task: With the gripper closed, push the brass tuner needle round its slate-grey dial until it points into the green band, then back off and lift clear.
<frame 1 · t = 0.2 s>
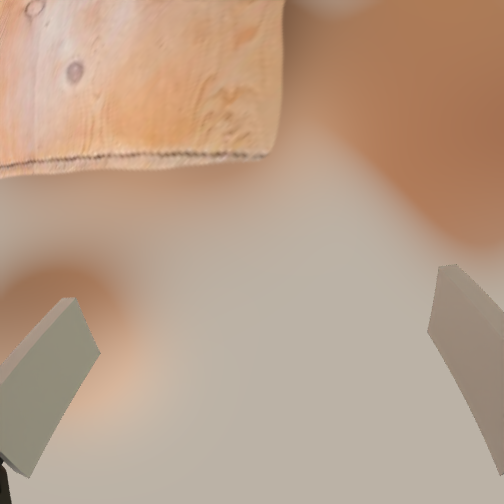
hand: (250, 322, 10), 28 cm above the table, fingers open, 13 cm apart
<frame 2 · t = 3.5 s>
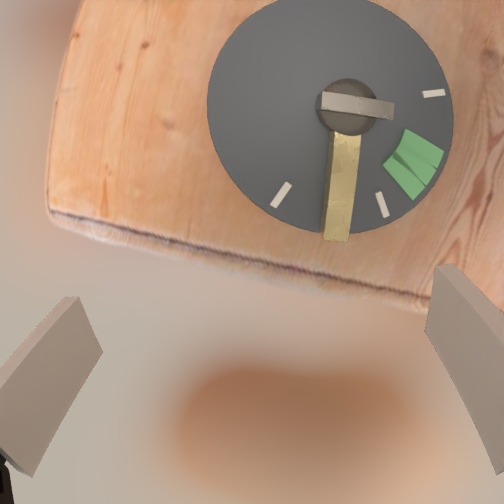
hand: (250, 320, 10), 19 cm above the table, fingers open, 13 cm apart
dial: (338, 109, 24), on the table
needle: (345, 161, 22), point 4 cm above the table, hinge at 0.0°
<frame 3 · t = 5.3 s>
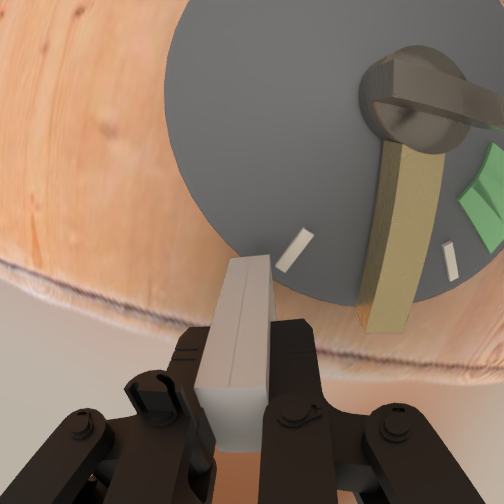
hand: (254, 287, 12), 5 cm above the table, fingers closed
dial: (391, 102, 13), on the table
needle: (416, 200, 11), point 4 cm above the table, hinge at 0.0°
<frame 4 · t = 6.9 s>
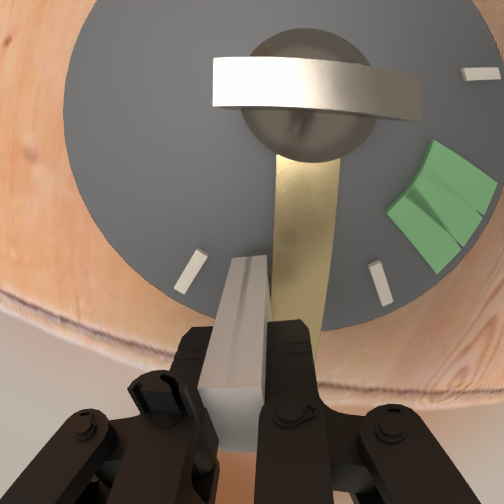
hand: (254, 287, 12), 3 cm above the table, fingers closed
dial: (300, 102, 12), on the table
needle: (304, 220, 10), point 4 cm above the table, hinge at 1.8°, touching gripper
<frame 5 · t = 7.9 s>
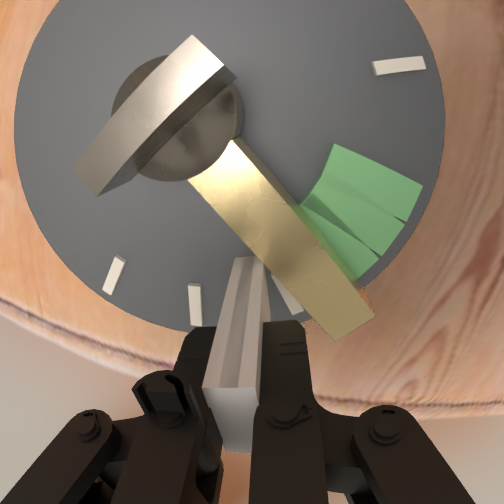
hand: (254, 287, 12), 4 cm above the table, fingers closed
dial: (200, 117, 13), on the table
needle: (252, 207, 11), point 4 cm above the table, hinge at 43.5°, touching gripper
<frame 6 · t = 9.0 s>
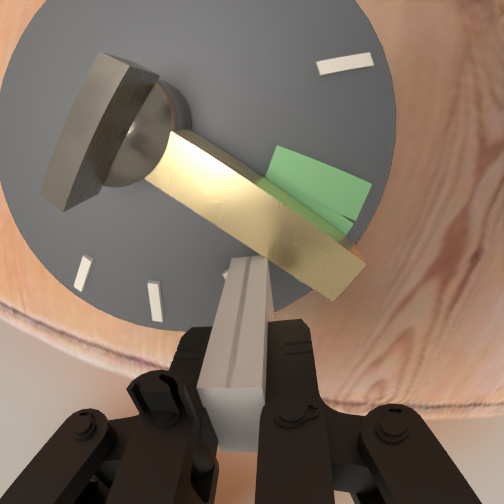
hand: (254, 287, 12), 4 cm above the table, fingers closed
dial: (156, 124, 14), on the table
needle: (208, 187, 11), point 4 cm above the table, hinge at 58.6°, touching gripper
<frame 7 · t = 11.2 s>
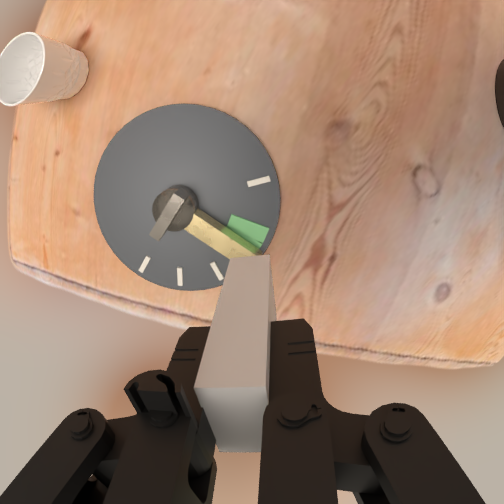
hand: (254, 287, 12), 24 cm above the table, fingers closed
dial: (182, 200, 35), on the table
white cup: (68, 74, 29), on the table
needle: (206, 232, 32), point 4 cm above the table, hinge at 58.9°
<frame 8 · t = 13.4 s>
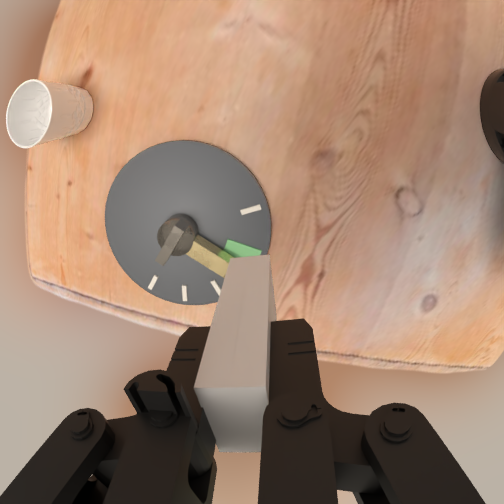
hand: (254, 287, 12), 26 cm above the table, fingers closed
dial: (184, 226, 40), on the table
white cup: (75, 110, 34), on the table
needle: (205, 257, 37), point 4 cm above the table, hinge at 58.9°
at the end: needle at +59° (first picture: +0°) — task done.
